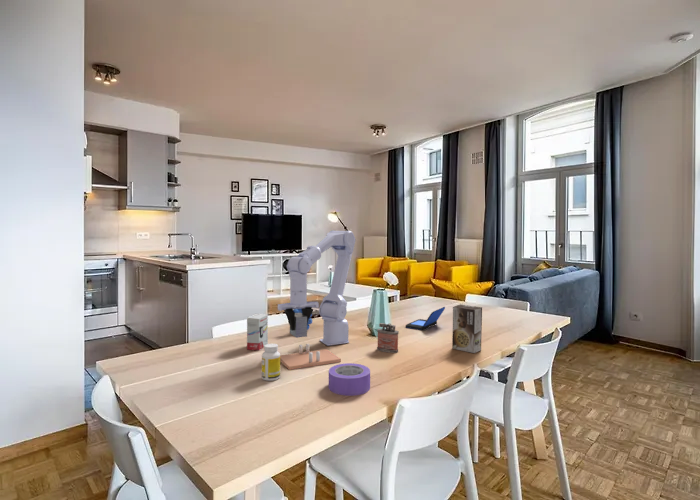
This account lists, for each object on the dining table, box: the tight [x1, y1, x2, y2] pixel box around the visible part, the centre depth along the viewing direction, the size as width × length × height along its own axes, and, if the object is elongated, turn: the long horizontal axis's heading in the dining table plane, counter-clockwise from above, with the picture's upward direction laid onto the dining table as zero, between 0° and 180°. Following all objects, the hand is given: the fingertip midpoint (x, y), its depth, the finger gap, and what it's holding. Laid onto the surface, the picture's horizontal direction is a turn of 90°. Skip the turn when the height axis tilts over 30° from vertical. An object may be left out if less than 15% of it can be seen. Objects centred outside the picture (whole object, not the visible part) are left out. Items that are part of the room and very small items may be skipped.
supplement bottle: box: [261, 343, 281, 382], centre depth 118 cm, size 5×5×10 cm
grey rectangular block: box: [289, 313, 308, 339], centre depth 140 cm, size 4×7×7 cm, turn 27°
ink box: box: [246, 313, 269, 351], centre depth 148 cm, size 9×5×12 cm, turn 168°
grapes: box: [293, 309, 313, 331], centre depth 170 cm, size 12×7×12 cm, turn 139°
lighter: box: [376, 322, 400, 354], centre depth 146 cm, size 8×3×10 cm, turn 65°
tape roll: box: [328, 362, 371, 397], centre depth 112 cm, size 12×12×5 cm
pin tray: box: [280, 343, 342, 371], centre depth 134 cm, size 18×12×4 cm, turn 117°
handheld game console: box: [405, 306, 446, 331], centre depth 183 cm, size 16×13×9 cm
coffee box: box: [451, 304, 483, 354], centre depth 149 cm, size 9×6×16 cm
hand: (298, 329), depth 140 cm, fingers closed on grey rectangular block, 4 cm apart
